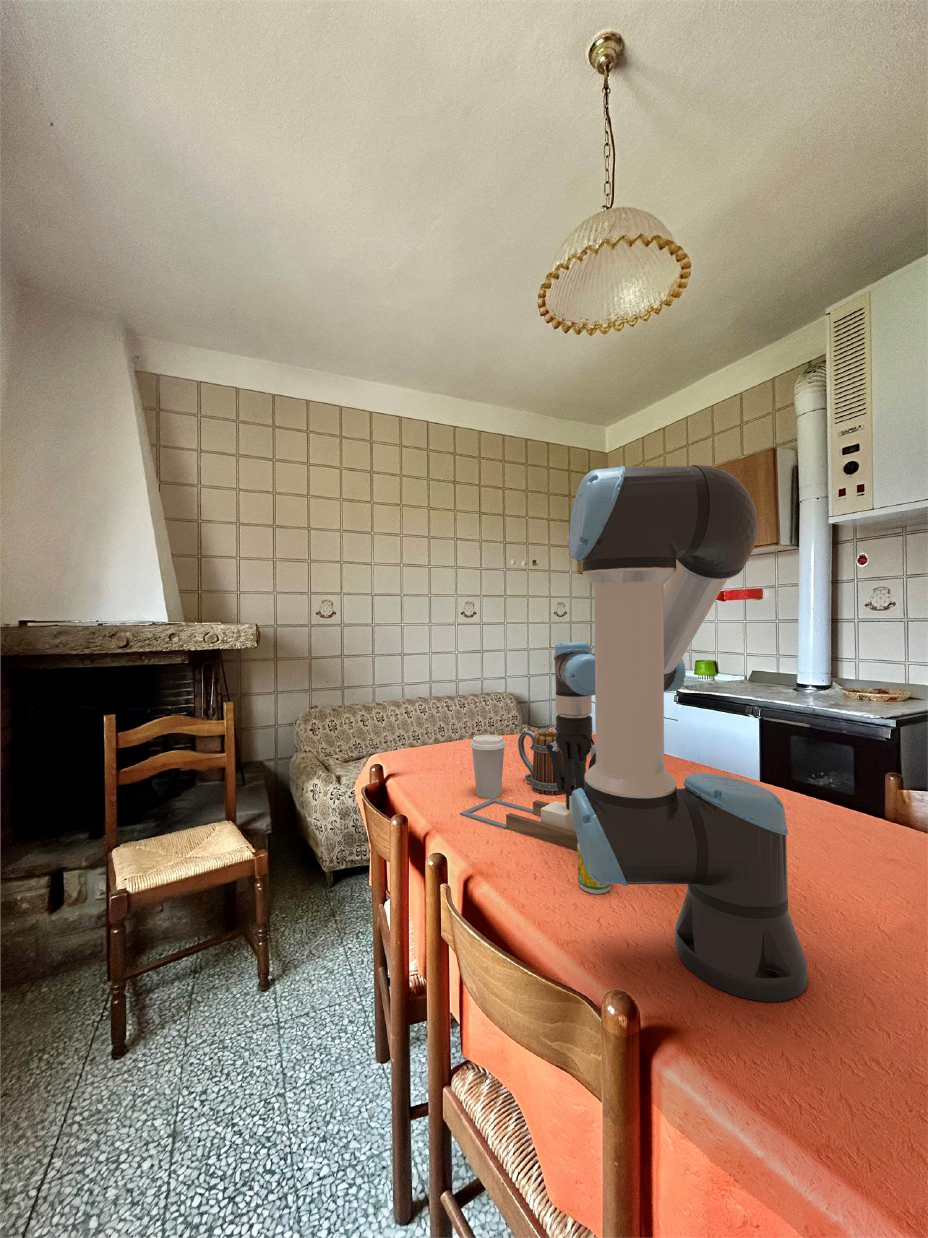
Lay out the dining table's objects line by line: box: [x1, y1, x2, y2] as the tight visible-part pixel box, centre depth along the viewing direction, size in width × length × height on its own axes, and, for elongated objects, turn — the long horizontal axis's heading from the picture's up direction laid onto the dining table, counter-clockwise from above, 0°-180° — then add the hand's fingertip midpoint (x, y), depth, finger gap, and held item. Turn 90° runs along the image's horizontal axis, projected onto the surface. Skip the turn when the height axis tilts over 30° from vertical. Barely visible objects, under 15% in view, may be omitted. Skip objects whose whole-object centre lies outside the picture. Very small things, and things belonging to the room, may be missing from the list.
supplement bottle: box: [577, 844, 612, 895], centre depth 84 cm, size 5×5×10 cm
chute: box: [505, 799, 578, 852], centre depth 106 cm, size 12×22×3 cm, turn 48°
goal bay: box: [459, 798, 533, 830], centre depth 118 cm, size 13×14×1 cm
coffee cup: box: [469, 734, 507, 800], centre depth 131 cm, size 10×10×15 cm
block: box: [540, 800, 576, 832], centre depth 107 cm, size 6×6×5 cm
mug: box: [517, 730, 565, 796], centre depth 136 cm, size 16×11×15 cm
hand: (576, 826), depth 104 cm, fingers closed
